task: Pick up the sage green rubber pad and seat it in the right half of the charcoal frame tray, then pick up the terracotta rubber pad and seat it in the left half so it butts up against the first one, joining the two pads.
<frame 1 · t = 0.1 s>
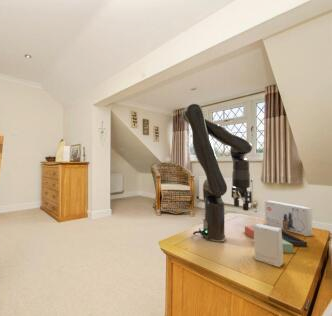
hand: (240, 208, 104), 17 cm above the table, tool pointing down, fingers open, 8 cm apart
skincare box: (286, 229, 119), on the table
terracotta pad: (254, 235, 110), on the table
cosmetic box: (268, 261, 82), on the table
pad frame: (279, 238, 106), on the table
sage pad: (280, 248, 94), on the table
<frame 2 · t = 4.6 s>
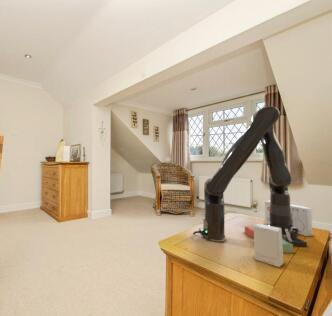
hand: (280, 247, 94), 1 cm above the table, tool pointing down, fingers closed on sage pad, 5 cm apart
sage pad: (280, 248, 94), on the table, touching gripper
everything else where it was.
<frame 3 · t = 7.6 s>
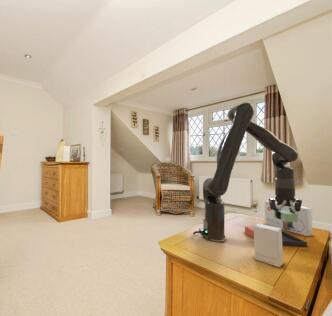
hand: (285, 218, 101), 12 cm above the table, tool pointing down, fingers closed on sage pad, 5 cm apart
sage pad: (285, 219, 101), point 12 cm above the table, touching gripper
everything else where it was.
when the fingers open (1 cm above the table, at t = 10.6 s): sage pad stays where it is, resting on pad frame.
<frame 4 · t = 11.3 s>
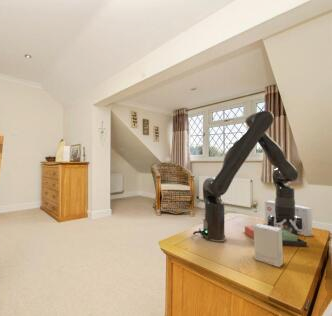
hand: (284, 236, 102), 3 cm above the table, tool pointing down, fingers open, 8 cm apart
sage pad: (285, 240, 102), point 1 cm above the table, touching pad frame
everything else where it was.
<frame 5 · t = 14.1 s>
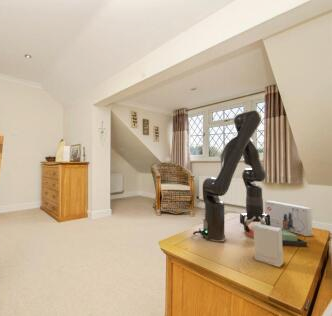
hand: (255, 232, 110), 2 cm above the table, tool pointing down, fingers open, 8 cm apart
nothing on the table moved.
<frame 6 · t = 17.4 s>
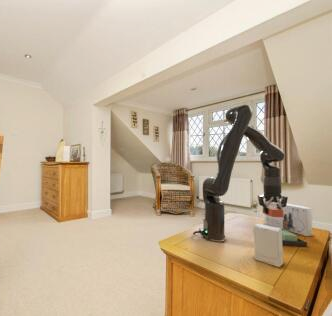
hand: (272, 213, 110), 12 cm above the table, tool pointing down, fingers closed on terracotta pad, 5 cm apart
terracotta pad: (272, 215, 110), point 12 cm above the table, touching gripper
everything else where it was.
when the fingers open (2 cm above the table, at t = 20.3 s): terracotta pad stays where it is, resting on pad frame.
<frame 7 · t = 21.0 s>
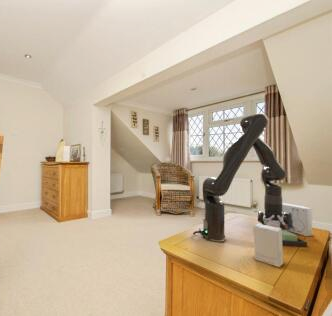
hand: (273, 230, 110), 3 cm above the table, tool pointing down, fingers open, 8 cm apart
terracotta pad: (273, 234, 110), point 1 cm above the table, touching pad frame
everything else where it was.
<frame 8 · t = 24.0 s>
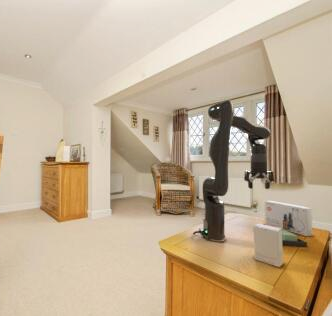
hand: (258, 188, 115), 26 cm above the table, tool pointing down, fingers open, 8 cm apart
nothing on the table moved.
at the end: sage pad 0.2 cm from the target spot in the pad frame, point 0.8 cm above the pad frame's base; terracotta pad 0.2 cm from the target spot in the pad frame, point 0.8 cm above the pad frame's base; terracotta pad 8.2 cm from the sage pad (horizontally) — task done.
